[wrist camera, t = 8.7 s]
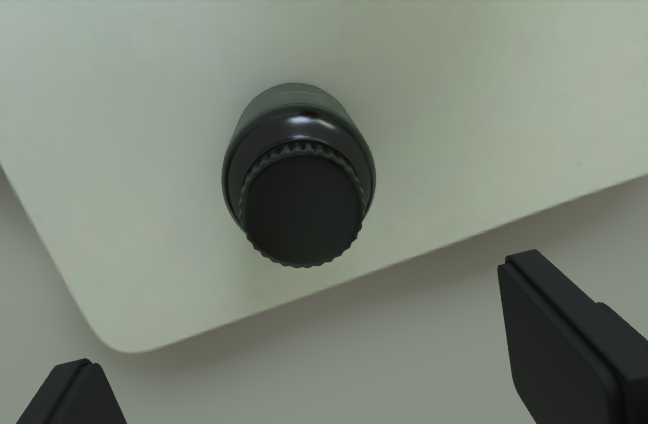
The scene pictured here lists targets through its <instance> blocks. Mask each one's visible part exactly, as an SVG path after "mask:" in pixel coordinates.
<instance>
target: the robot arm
mask: <svg viewBox="0 0 648 424" xmlns="http://www.w3.org/2000/svg"><path fill="white" fill-rule="evenodd" d="M497 271H498V279H499V286H500V294H501V301H502V308H503V315H504V322H505V329H506V336H507V344H508V350H509V357H510V365H511V372H512V378H513V382H514V385H515V388H516V390H517V393H518V394H519V396H520V398H521V399H522V401H523V403H524V404H525V406H526V407H527V409H528V411H529V412H530V414H531V416H532V417H533V419H534V420H535V422H536V424H648V341H647V340H646V339H645V338H644V337H643V336H642V335H641V334H639V333H638V332H637V331H636V330H635V329H634V328H633V327H631V326H630V325H629V324H628V323H627V322H626V321H625V320H624V319H622V318H621V317H620V316H619V315H618V314H617V313H616V312H614V311H613V310H612V309H611V308H610V307H609V306H607V305H606V304H604V303H601V302H597V303H595V302H594V301H593V300H592V299H591V298H589V297H588V296H587V295H586V294H585V293H584V292H583V291H581V289H579V288H578V287H577V286H576V285H575V284H574V283H573V282H572V281H571V280H569V279H568V278H567V277H566V276H565V275H564V274H563V273H562V272H561V271H560V270H559V269H557V268H556V267H555V266H554V265H553V264H552V263H551V262H550V261H549V260H547V259H546V258H545V257H544V256H543V255H542V254H541V253H540V252H539V251H537V250H536V249H533V250H529V251H525V252H521V253H517V254H513V255H508V256H506V258H505V264H502V265H499V266H498V269H497ZM16 424H127V422H126V421H125V418H124V416H123V413H122V411H121V409H120V407H119V405H118V402H117V400H116V398H115V396H114V393H113V391H112V389H111V387H110V384H109V382H108V380H107V378H106V376H105V373H104V371H103V369H102V367H101V366H100V365H99V364H97V363H94V364H92V362H91V361H90V360H89V359H86V358H84V359H80V360H76V361H72V362H68V363H64V364H60V365H57V366H55V367H54V369H53V370H52V371H51V372H50V374H49V376H48V377H47V379H46V380H45V381H44V383H43V385H42V386H41V387H40V389H39V390H38V392H37V393H36V395H35V396H34V398H33V399H32V401H31V402H30V404H29V405H28V407H27V408H26V410H25V411H24V413H23V414H22V415H21V417H20V419H19V420H18V422H17V423H16Z"/></svg>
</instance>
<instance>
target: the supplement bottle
mask: <svg viewBox="0 0 648 424" xmlns="http://www.w3.org/2000/svg"><path fill="white" fill-rule="evenodd" d="M221 183H222V192H223V197H224V200H225V204H226V206H227V209H228V211H229V213H230V215H231V216H232V218H233V220H234V221H235V223H236V224H237V225H238V226H239V228H240V229H241V230H242V231H243V232H244V233H245V234H246V236H247V239H248V240H249V241H250V242H251V243H252V244H253V247H254V249H256V250H258V251H260V253H261V254H262V256H263V257H267V258H270V260H271V261H272V262H275V263H280V264H282V265H283V266H292V267H294V268H300V267H305V268H310V267H312V266H321V265H322V264H323V263H325V262H331V261H332V260H333V259H334V258H335V257H338V256H341V255H342V253H343V252H344V251H345V250H347V249H348V248H350V246H351V243H352V242H353V241H354V240H356V239H357V234H358V232H359V231H360V230H361V228H362V221H363V220H364V218H365V217H366V215H367V213H368V211H369V209H370V207H371V204H372V201H373V198H374V194H375V188H376V170H375V164H374V160H373V157H372V154H371V151H370V149H369V146H368V145H367V143H366V141H365V139H364V138H363V136H362V134H361V133H360V131H359V130H358V128H357V127H356V125H355V124H354V122H353V121H352V119H351V118H350V116H349V115H348V113H347V112H346V110H345V109H344V108H343V106H342V105H341V104H340V103H339V102H338V101H337V100H336V99H335V98H334V97H333V96H332V95H330V94H329V93H327V92H326V91H324V90H322V89H320V88H318V87H315V86H312V85H308V84H303V83H286V84H281V85H277V86H274V87H271V88H269V89H267V90H265V91H264V92H262V93H261V94H259V95H258V96H257V97H255V98H254V99H253V100H252V101H251V102H250V103H249V104H248V106H247V107H246V108H245V110H244V111H243V113H242V115H241V117H240V119H239V121H238V123H237V126H236V128H235V131H234V133H233V136H232V139H231V141H230V144H229V146H228V149H227V152H226V155H225V158H224V162H223V167H222V177H221Z"/></svg>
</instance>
